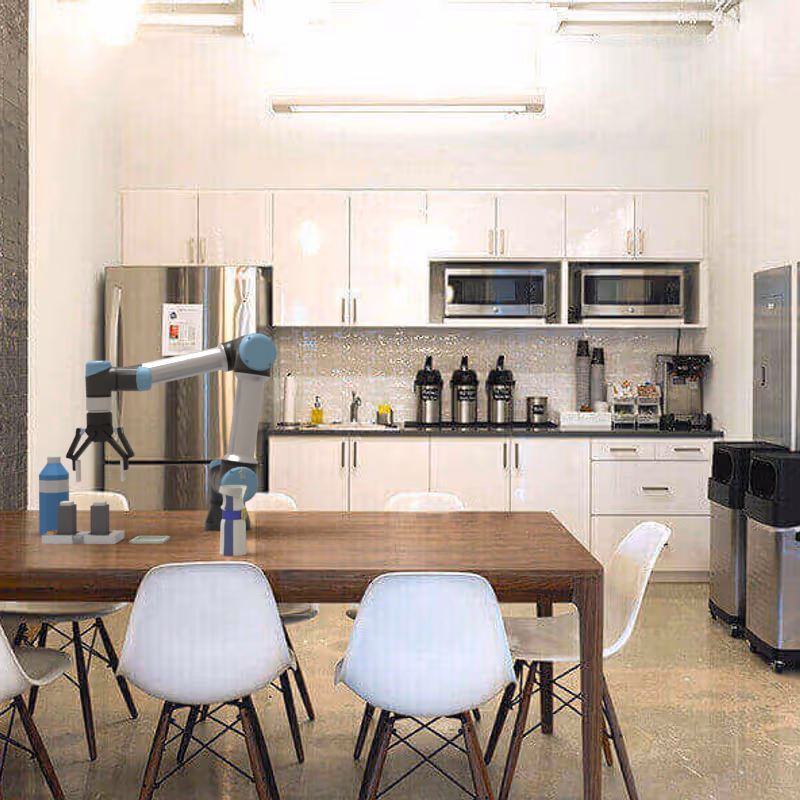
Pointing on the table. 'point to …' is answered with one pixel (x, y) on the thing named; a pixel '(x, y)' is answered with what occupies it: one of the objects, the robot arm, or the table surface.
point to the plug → (99, 518)
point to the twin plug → (67, 518)
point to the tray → (149, 540)
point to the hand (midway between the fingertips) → (100, 481)
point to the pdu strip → (83, 537)
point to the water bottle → (52, 493)
